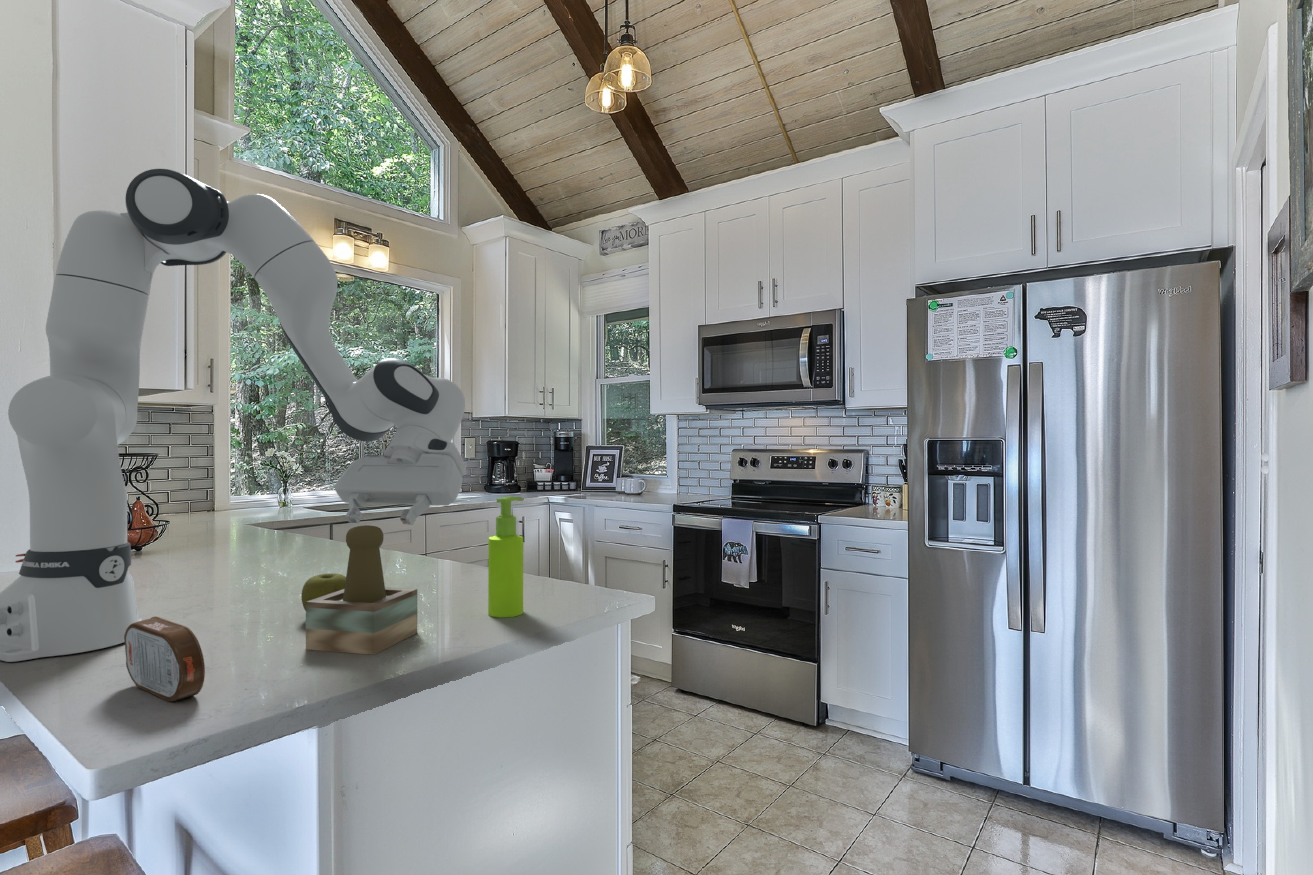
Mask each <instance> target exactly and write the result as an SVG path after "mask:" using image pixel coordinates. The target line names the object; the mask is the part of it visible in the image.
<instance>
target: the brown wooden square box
mask: <svg viewBox="0 0 1313 875" xmlns="http://www.w3.org/2000/svg"><path fill="white" fill-rule="evenodd" d="M385 592H386V597H385V598H383V599H380V600H378V601H375V602H373V603H364V602H347V601H343V596H344V589H343V590H340V591H337V592H334V593H331V594H328V595H325V596H322V597H319V598H316V599H313V600H310V601H307V602H306V611H305V650H312V651H321V652H323V651H324V652H336V653H347V654H348V653H350V654H360V655H361V654H364V655H376V654H378V653H380V652H382V651H384V650H386V649H389V648H390V647H392V646H394V645H396V644H398V643H400V642H402V641H404V640H406V639H407V638H410V637H412V636H414V635H416V634H418V588H407V587H404V588H403V587H388V586H387V587H386V586H385Z"/></svg>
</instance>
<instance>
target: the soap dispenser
mask: <svg viewBox="0 0 1313 875" xmlns="http://www.w3.org/2000/svg"><path fill="white" fill-rule="evenodd" d="M524 498H525V497H520V496H503V497H498V498H496V503H500V514H499V515H498V516H496V517H495V535H492V536H489V537H488V541H487V542H488V552H487V556H488V563H487V566H488V567H487V568H488V576H487V578H488V580H487V582H488V585H487V586H488V590H487V591H488V596H487V597H488V598H487V599H488V600H487V601H488V602H487V604H488V605H487V606H488V607H487V608H488V609H487V610H488V612H487V614H488V616H490V617H492V618H504V619H505V618H513V617H518V616H521V615H522V614H523V613H524V536H522V535H519V534H517V516H515V515H513V514H512V502H514V501H516V502H517V501H520V502H522V501H524V500H525V499H524Z"/></svg>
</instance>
